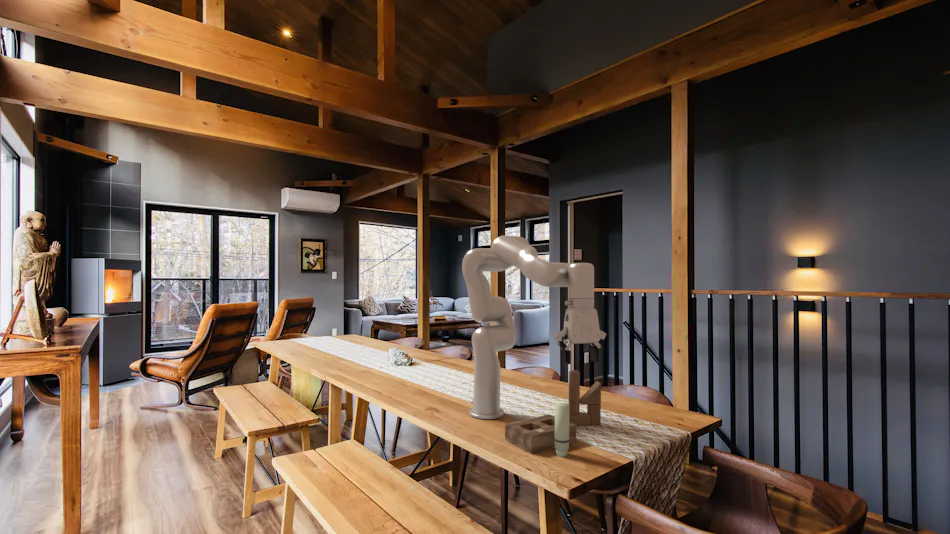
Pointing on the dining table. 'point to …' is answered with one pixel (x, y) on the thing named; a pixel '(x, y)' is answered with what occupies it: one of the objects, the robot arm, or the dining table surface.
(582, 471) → the dining table surface
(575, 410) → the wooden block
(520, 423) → the board
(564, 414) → the peg
